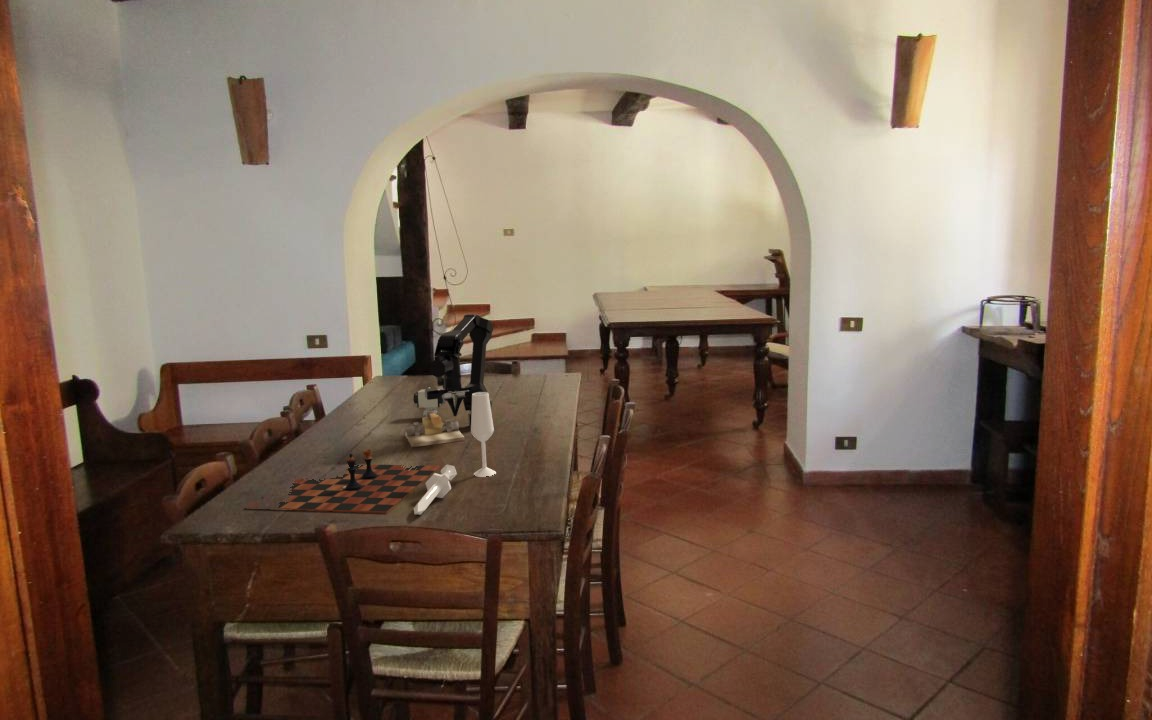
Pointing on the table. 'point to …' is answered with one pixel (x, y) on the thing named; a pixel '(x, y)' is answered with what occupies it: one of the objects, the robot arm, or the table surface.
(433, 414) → the valve lever
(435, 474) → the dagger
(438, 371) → the robot arm
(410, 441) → the valve plank
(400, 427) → the table surface
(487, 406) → the champagne flute
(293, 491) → the chessboard
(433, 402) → the pneumatic valve
